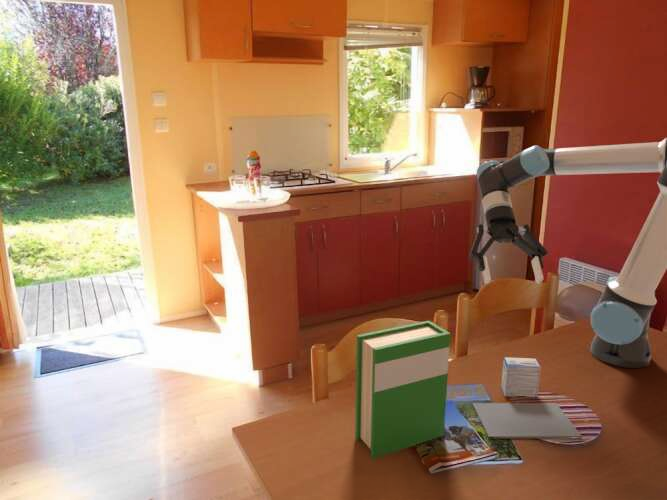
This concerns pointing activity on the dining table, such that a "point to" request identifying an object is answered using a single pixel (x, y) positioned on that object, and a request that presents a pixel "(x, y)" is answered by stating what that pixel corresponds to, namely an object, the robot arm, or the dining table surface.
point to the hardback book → (401, 386)
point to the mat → (525, 420)
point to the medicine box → (520, 377)
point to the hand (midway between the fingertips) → (514, 281)
